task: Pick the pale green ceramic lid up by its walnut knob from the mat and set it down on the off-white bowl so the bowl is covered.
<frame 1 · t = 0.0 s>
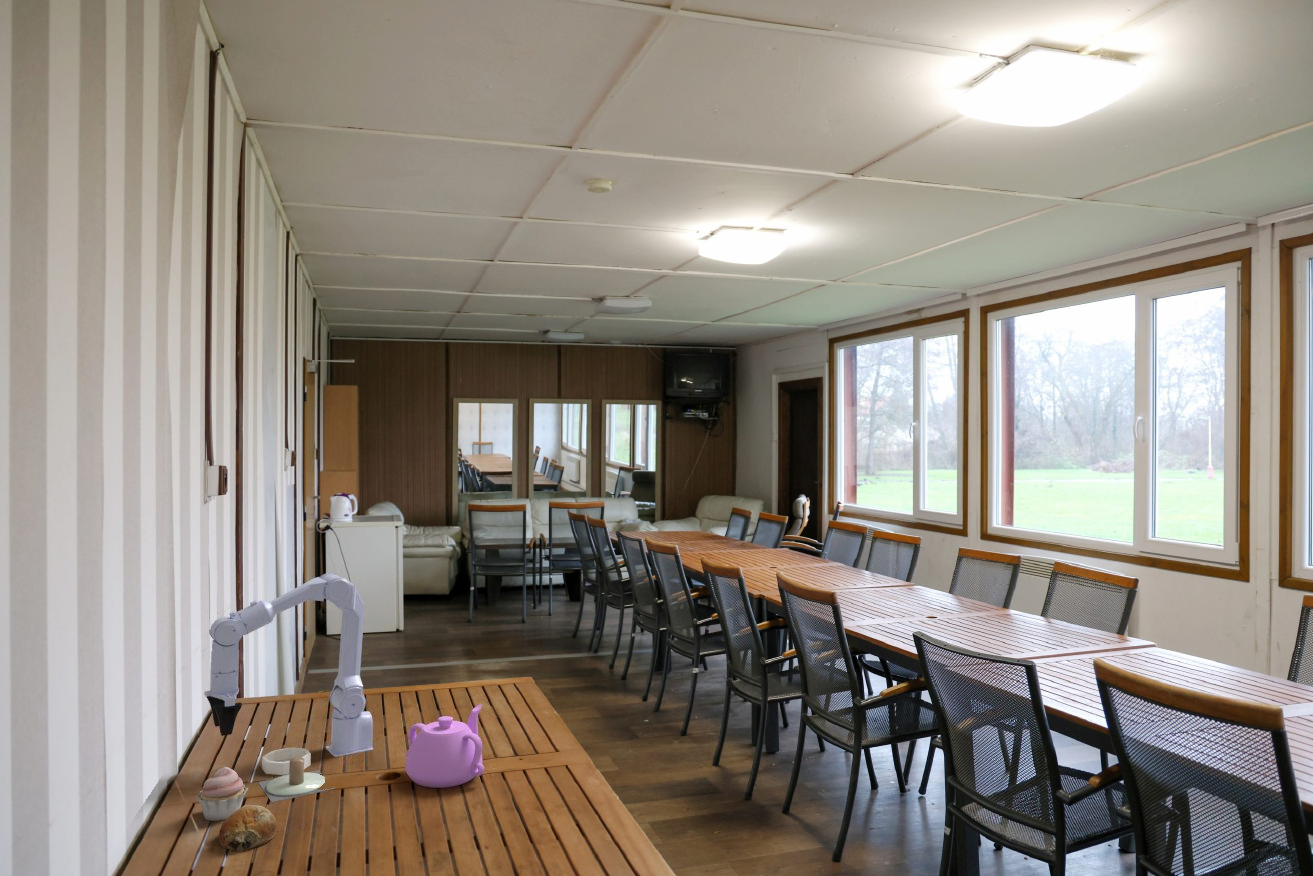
hand: (223, 730, 194), 10 cm above the table, tool pointing down, fingers open, 7 cm apart
mat: (296, 787, 187), on the table
cupcake: (222, 817, 172), on the table
bread roll: (247, 841, 162), on the table
teapot: (450, 775, 196), on the table
bowl: (286, 768, 198), on the table
lid: (296, 785, 187), resting on mat
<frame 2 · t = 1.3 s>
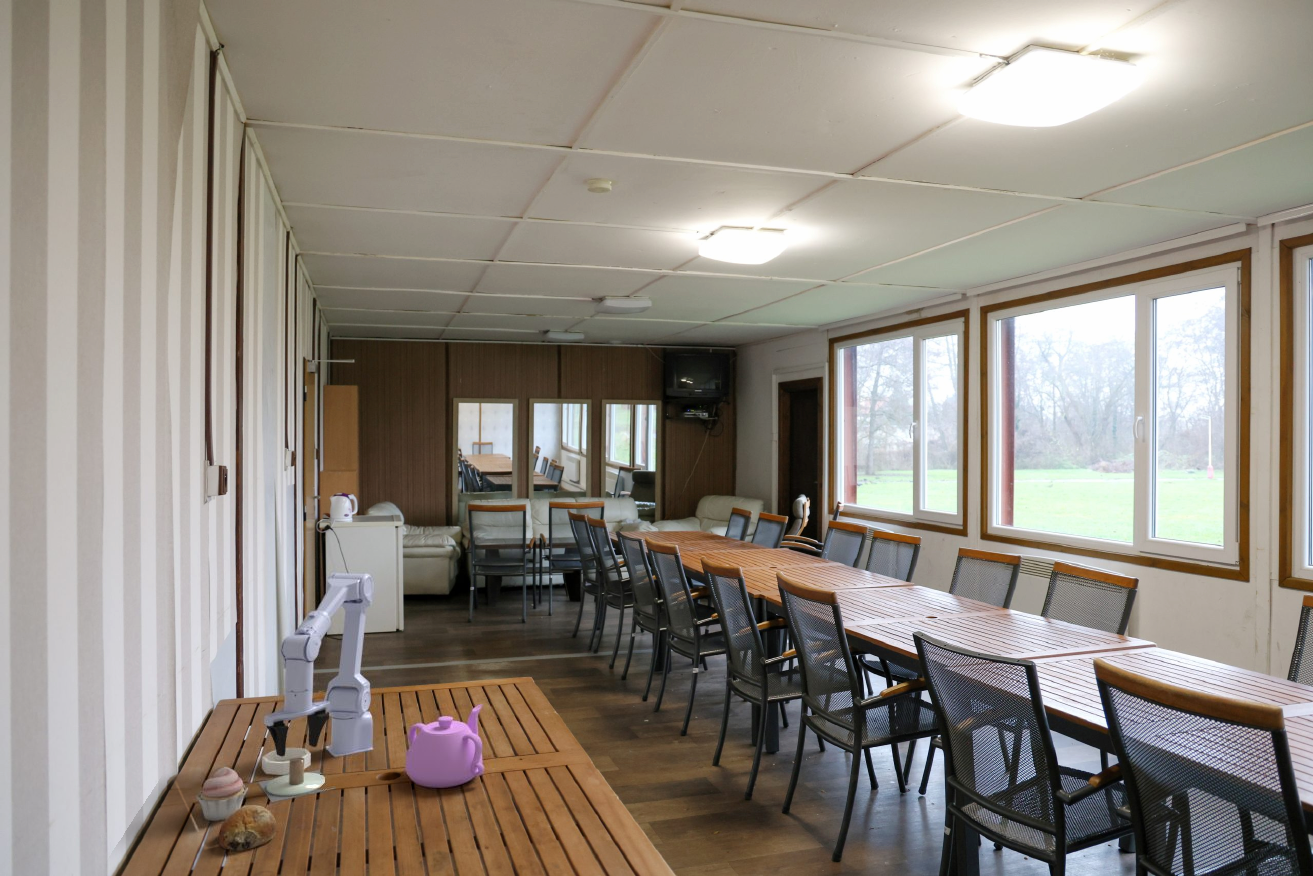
hand: (297, 750, 188), 8 cm above the table, tool pointing down, fingers open, 7 cm apart
nothing on the table moved.
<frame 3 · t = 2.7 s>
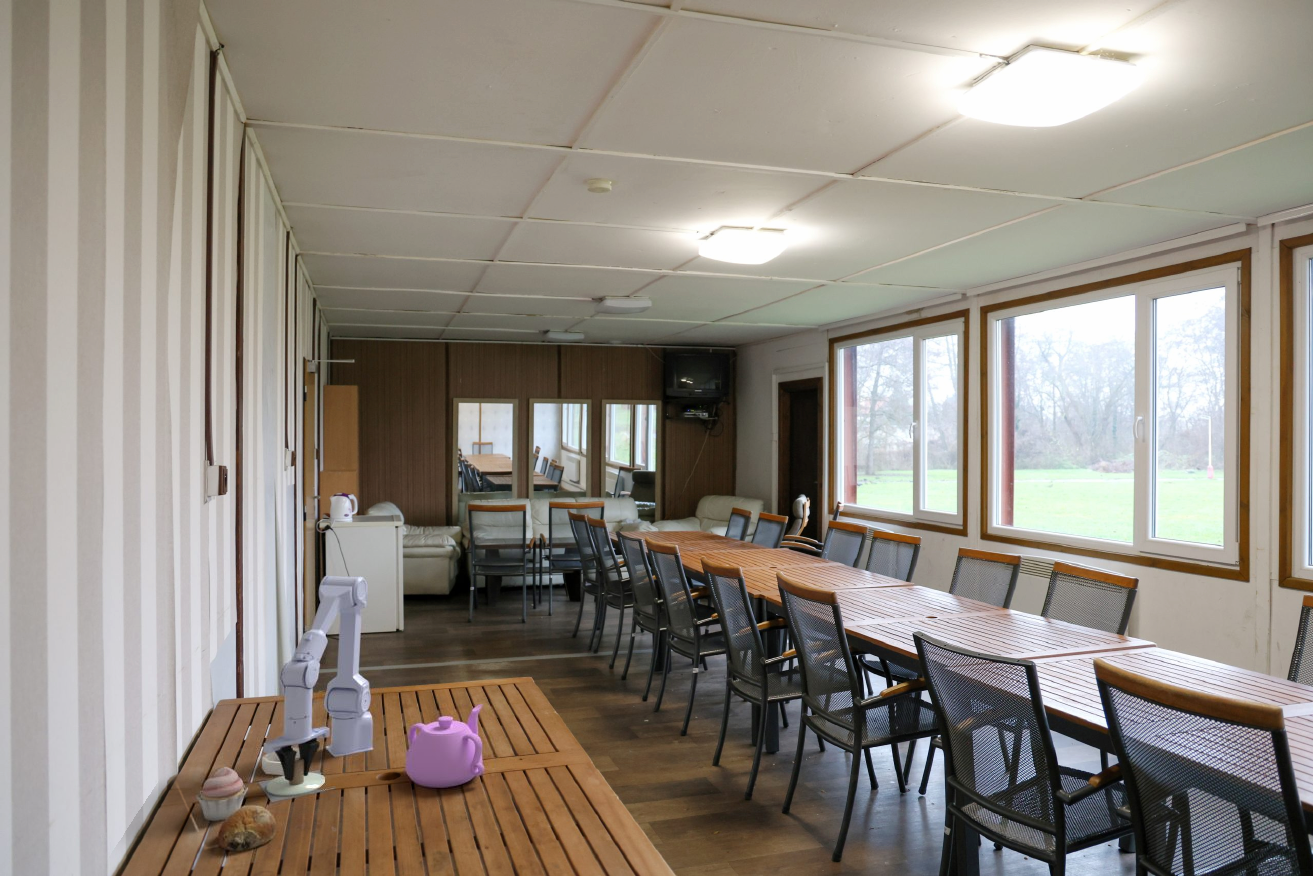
hand: (296, 777, 188), 2 cm above the table, tool pointing down, fingers closed on lid, 3 cm apart
lid: (296, 785, 187), resting on mat, touching gripper
everything else where it was.
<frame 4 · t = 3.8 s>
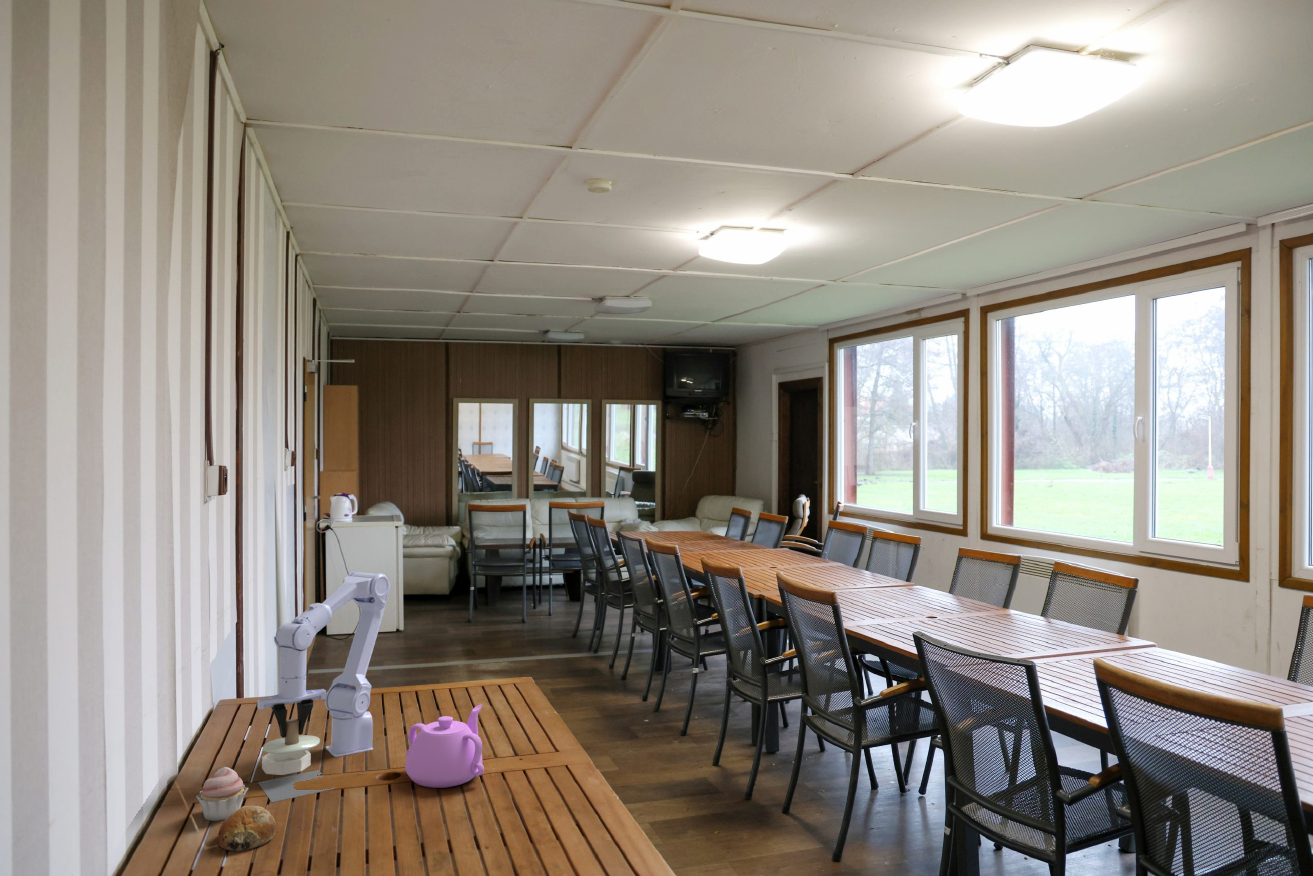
hand: (291, 735, 195), 9 cm above the table, tool pointing down, fingers closed on lid, 3 cm apart
lid: (291, 745, 194), point 7 cm above the table, touching gripper
everything else where it was.
when the fingers open (6 cm above the table, at t = 5.1 s): lid stays where it is, resting on bowl.
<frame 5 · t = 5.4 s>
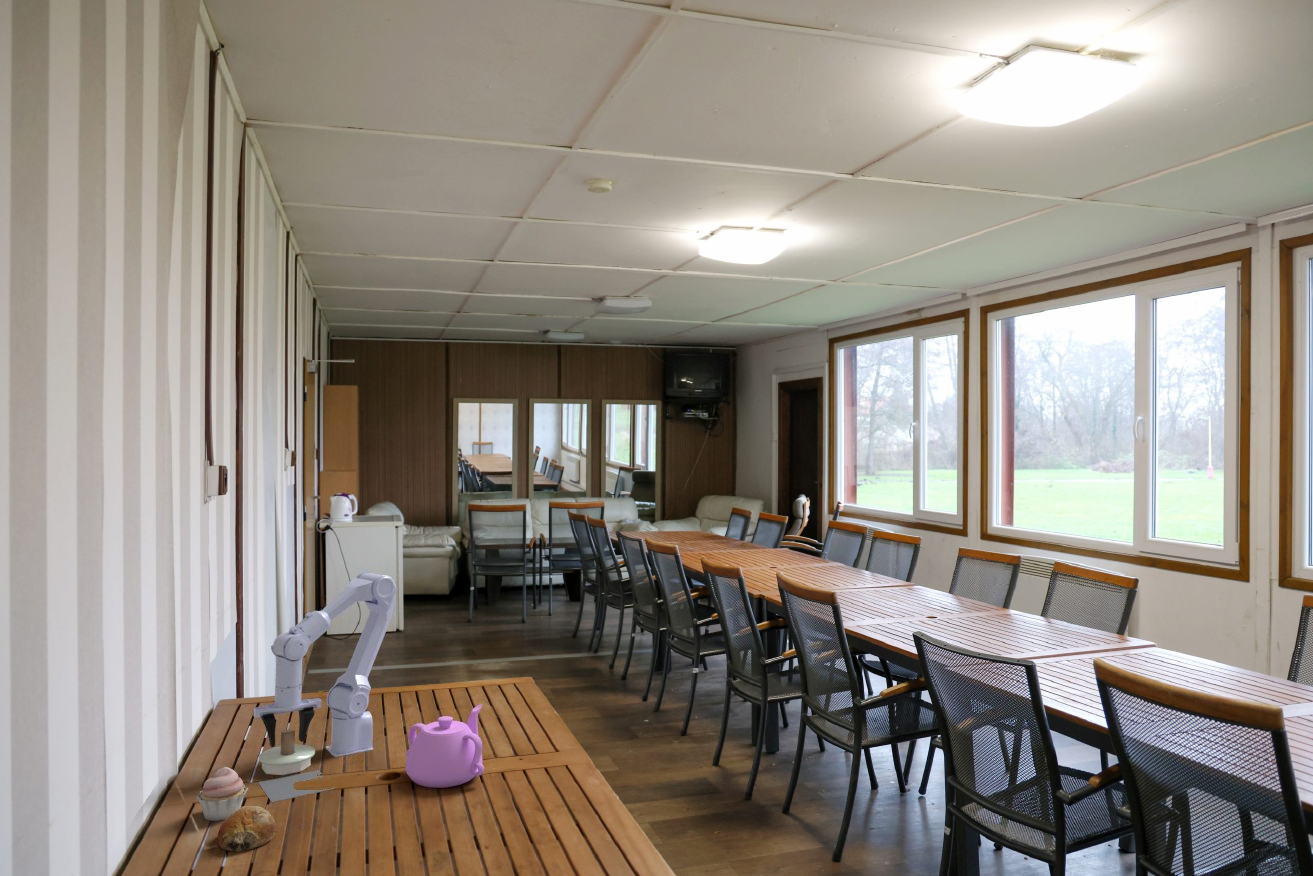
hand: (287, 743, 199), 6 cm above the table, tool pointing down, fingers open, 6 cm apart
lid: (287, 756, 198), point 3 cm above the table, touching bowl
everything else where it was.
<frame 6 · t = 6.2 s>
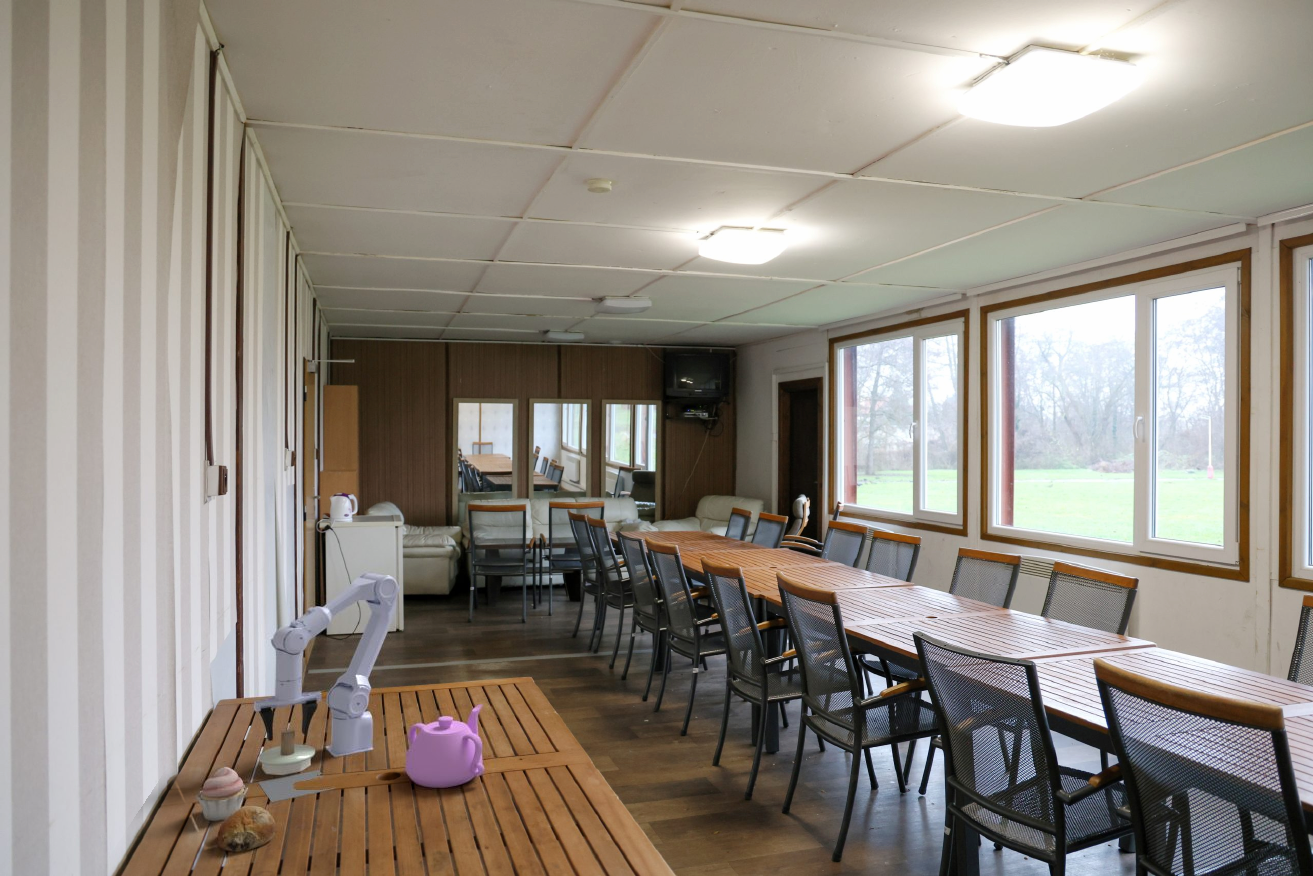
hand: (287, 736, 199), 7 cm above the table, tool pointing down, fingers open, 7 cm apart
nothing on the table moved.
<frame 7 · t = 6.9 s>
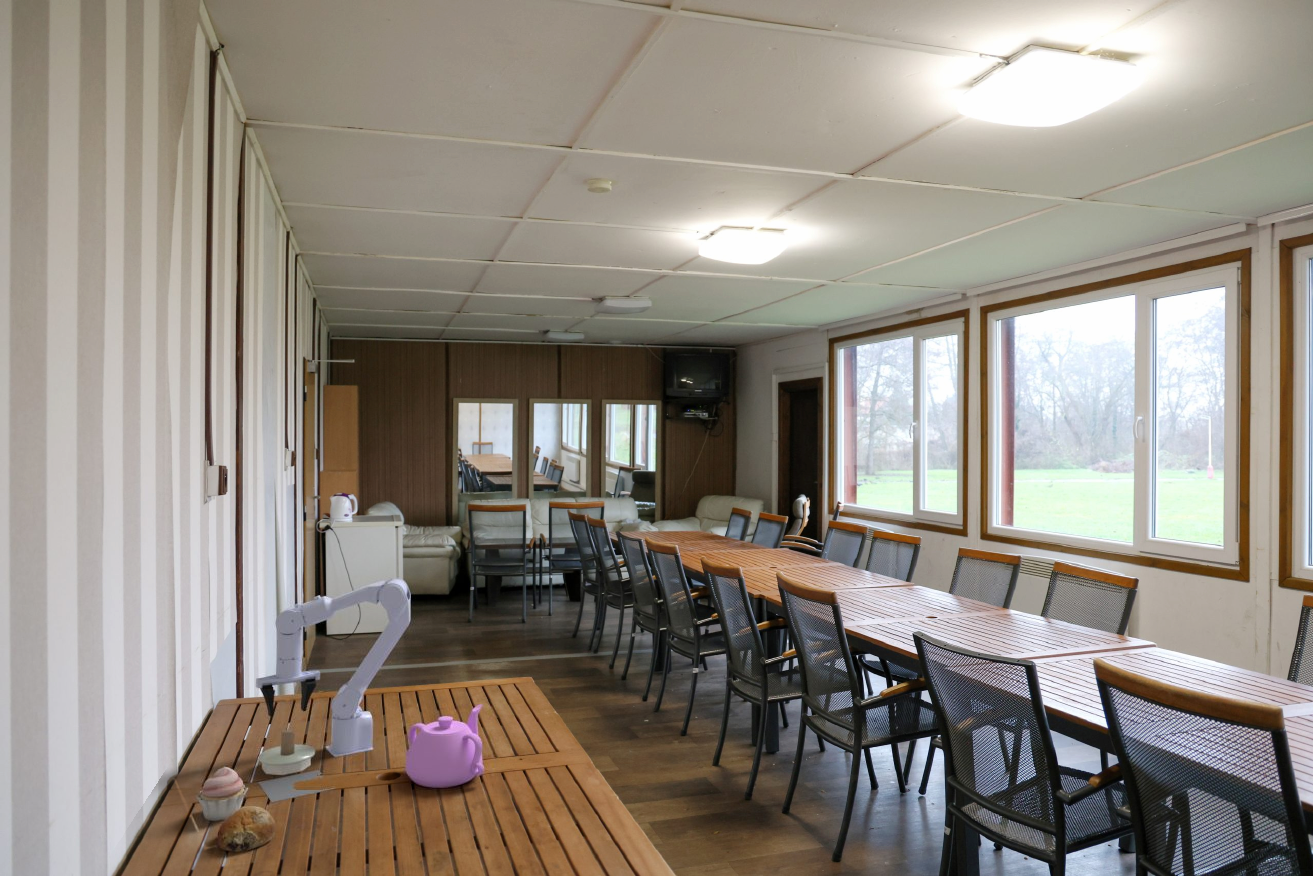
hand: (287, 712, 208), 10 cm above the table, tool pointing down, fingers open, 7 cm apart
nothing on the table moved.
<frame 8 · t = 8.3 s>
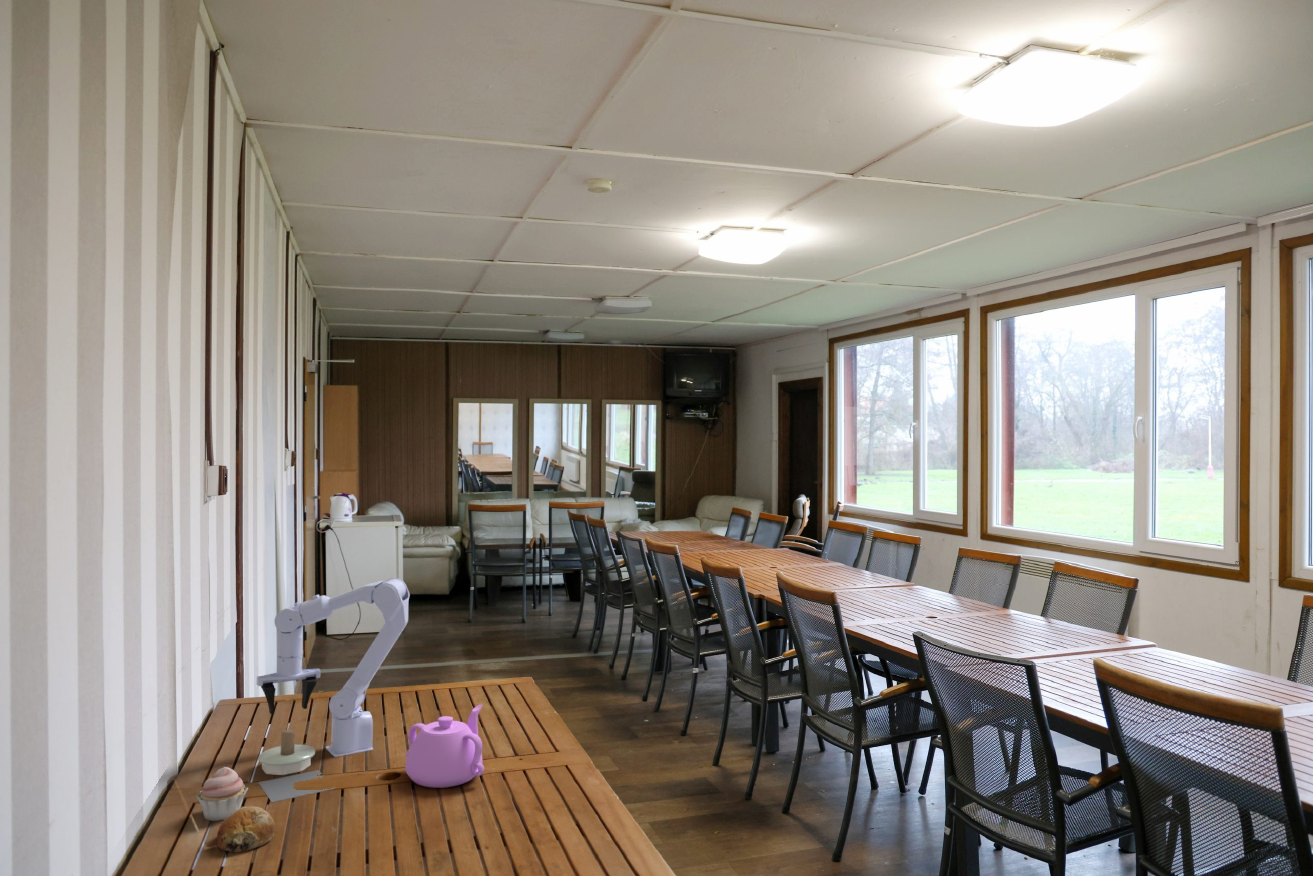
hand: (288, 710, 210), 10 cm above the table, tool pointing down, fingers open, 7 cm apart
nothing on the table moved.
at the end: lid 0.6 cm off-centre on the bowl, point 3.0 cm above the bowl's base; lid tilted 0°; the gripper is holding nothing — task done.
